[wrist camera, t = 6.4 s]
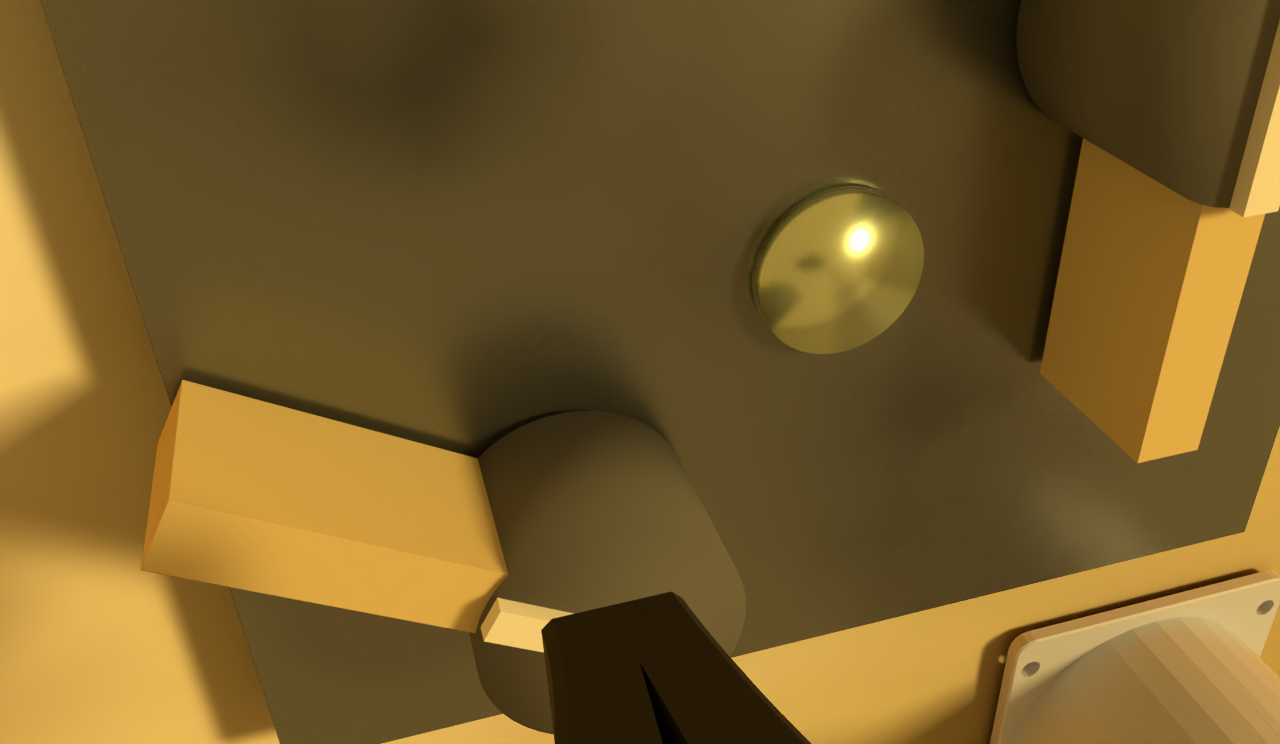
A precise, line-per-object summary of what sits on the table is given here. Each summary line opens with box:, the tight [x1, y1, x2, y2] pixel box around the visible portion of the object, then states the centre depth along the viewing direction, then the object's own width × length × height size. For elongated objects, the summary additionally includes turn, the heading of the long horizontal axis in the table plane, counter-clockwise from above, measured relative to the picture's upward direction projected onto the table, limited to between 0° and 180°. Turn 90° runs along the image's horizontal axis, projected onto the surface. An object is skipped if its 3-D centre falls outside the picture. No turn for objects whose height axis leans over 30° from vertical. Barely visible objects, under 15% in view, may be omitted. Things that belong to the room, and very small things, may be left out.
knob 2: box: [1016, 0, 1280, 463], centre depth 18 cm, size 9×4×4 cm, turn 2°
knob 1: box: [141, 380, 746, 734], centre depth 18 cm, size 9×4×4 cm, turn 61°
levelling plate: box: [41, 0, 1280, 744], centre depth 20 cm, size 18×22×2 cm
